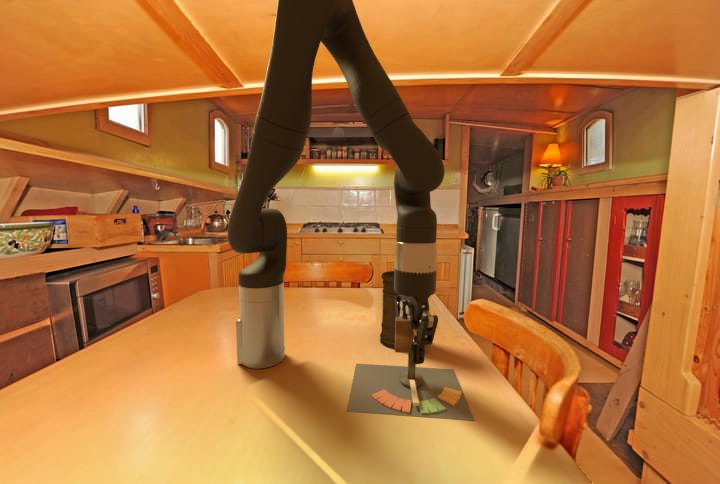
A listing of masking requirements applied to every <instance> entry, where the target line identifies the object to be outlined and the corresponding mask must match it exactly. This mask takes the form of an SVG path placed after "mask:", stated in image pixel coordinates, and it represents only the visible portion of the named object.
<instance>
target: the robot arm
mask: <svg viewBox="0 0 720 484" xmlns="http://www.w3.org/2000/svg"><path fill="white" fill-rule="evenodd" d="M276 5H277V6H276V12H275V13H276V14H275V20H274V28H273V36H272V37H273V38H272V45H271V49H270V55H269V59H268V63H267V68H266V73H265V76H264V77H265V79H264V83H263V88H262V92H261V97H260V100H259V105H258V107H257V112H256V116H255V120H254V124H253V128H252V129H253V130H252V133H251V134H252V136H251V140H250V147H249V151H248V156H247V160H246V165H245V168H244V172H243V176H242V180H241V182H240V184H239V185H240V186H239V188H238V192H237V194H236V198H235V200H234V203H233V207H232V210H231V213H230V216H229V221H228V224H227V225H228V226H227V241H228V243H229V246H230V248H231V249H232V250H233V251H234V252H235V253H237V254H255V253H256V254H257V253H258V256H257V258H256V259H255V261H253V262H251V264H249V265H248V266H246V267H244V268H242V269H240V271H239V273H238V297H239V298H238V299H239V301H238V302H239V304H238V305H239V318H238V319H237V320H235V321H236V322H235V331H236V333H235V334H236V335H235V336H236V337H235V338H236V363H237V364H240V365H242V366H243V367H246V368H249V369H254V370H255V369H266V368H269V367H273V366H276V365H277V364H279V363H281V362H282V361H283V360H284V359H285V355H286V354H285V353H286V352H285V351H286V347H285V345H286V344H285V343H286V342H285V295H284V294H285V291H284V290H285V289H284V286H285V285H284V284H285V283H284V278H285V277H284V276H285V272H286V269H287V253H288V252H287V250H288V227H287V220H286V218H285V216H284V214H283V213H282V212H281V211H280V210H279V209H276V208H265V207H264V204H265V202H266V200H267V198H268V197H269V196H270V195H269V194H270V193H271V191H272V190H273V189H274V188H275V187H276V186H277V185H278V184H279V183H280V182H281V181H282V180H283V179H284V178H285V176H286V175H287V174H288V173H289V172H290V171H291V170H292V169H293V168H294V167H295V166H296V164H297V163H298V162H299V160H300V158H301V157H302V154H303V151H304V148H305V144H306V141H307V138H308V135H309V131H310V128H311V121H312V114H313V72H314V66H315V62H316V58H317V54H318V50H319V48H320V45H321V43H322V45H323V47H325V49H326V50H327V51H328V52H329V55H331V56H332V58H333V59H334V61H335V63H336V64H337V65H338V68H339V69H340V71H341V73H342V75H343V77H344V79H345V80H346V84H347V86H348V89H349V91H350V95H351V97H352V99H353V102H354V104H355V106H356V108H357V111H358V113H359V114H360V116H361V118H362V120H363V121H364V123H365V126H366V127H367V128H368V130H369V132H370V134H371V136H372V137H373V139H374V140H375V142H376V144H377V145H378V146H379V147H380V148H381V149H382V150H384V151H386V152H387V153H389V155H390V156H391V158H392V160H393V161H394V163H395V164H396V168H395V171H394V179H393V186H394V187H393V189H394V190H393V191H394V200H395V207H396V213H397V214H396V216H397V218H396V219H397V220H396V238H395V239H396V242H395V247H394V248H395V251H394V262H393V264H394V265H393V266H394V269H393V271H394V290H395V292H396V293H398V294H400V295H396V296H395V308H396V317H402V318H405V317H406V318H407V319H408V329H409V330H410V331H411V335H412V355H411V361H412V363H413V364H416V365H422V364H424V362H425V355H426V354H425V345H431V346H432V345H433V341H434V337H435V335H436V332H437V326H438V324H439V316H438V315H436V314H431V312H430V304H429V298H430V297H431V296H433V295H435V294H436V291H437V272H438V271H437V270H438V269H437V267H438V251H437V234H438V232H437V230H438V228H437V227H438V218H437V217H438V216H437V214H436V212H435V210H433V209H432V204H431V192H434V191H435V190H436V189H438V188H439V187H440V186H441V184H443V181H444V179H445V174H446V173H445V172H446V171H445V165H444V162H443V159H442V156H441V155H440V153H439V151H438V150H437V148H436V147H435V146H434V144H433V143H432V142H431V140H430V139H429V138H428V137H427V135H426V134H425V133H424V132H423V131H422V129H420V127H418V125H417V124H416V123H415V122H414V119H413V117H412V116H411V114H410V112H409V109H408V108H407V107H406V105H405V103H404V101H403V99H402V97H401V95H400V94H399V92H398V90H397V88H396V87H395V85H394V83H393V82H392V80H391V78H390V77H389V75H388V74H387V72H386V70H385V68H384V67H383V65H382V64H381V62H380V61H379V59H378V56H376V54H375V52H374V50H373V48H372V46H371V44H370V42H369V40H368V37H367V35H366V33H365V31H364V29H363V28H364V27H363V26H362V23H361V21H360V18H359V15H358V12H357V10H356V7H355V4H354V1H353V0H277V4H276ZM419 323H420V325H419V326H414V324H419ZM417 331H418V335H417ZM427 335H428V336H427Z"/></svg>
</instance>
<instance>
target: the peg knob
mask: <svg viewBox="0 0 720 484" xmlns="http://www.w3.org/2000/svg"><path fill="white" fill-rule="evenodd" d="M419 325H420V323H419V324H414V326H419ZM417 335H418V331H417ZM427 336H428V335H427ZM431 352H432V344H431V345H425V355H426V354H427V355H431ZM394 353H401V354H403V353H404V354H407V355H408V356H407V367H408V372H404V373H402V374H401V375H400V382H401V383H402V384H403V385H405V386H408V387H410V388H411V394H412V400H413V405H414V406H419V400H418V395H417V390H416V387H419V386H421V385H422V384H423V377H422V376H421V375H420V374H418V373H415V367H417V366H416V365H417V364H413V363H412V361H411V355H412V335H411V331H410V330H409V329H408V319H407V318H406V317H405V318H402V317H396V321H395V349H394Z"/></svg>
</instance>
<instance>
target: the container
mask: <svg viewBox="0 0 720 484" xmlns="http://www.w3.org/2000/svg"><path fill="white" fill-rule="evenodd" d="M380 278H381V279H382V285H383V286H382V316H381V317H382V319H381V324H380V325H381V333H380V334H379V338H380V339H379V342H380V344H381V345H382V346H383V347H385V348H388V349H391V350H395V321H396V308H395V296H396V295H400V294H398V293H396V292H395V290H394V270H390V271H385V272H382V273H381V277H380Z"/></svg>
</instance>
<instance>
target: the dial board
mask: <svg viewBox="0 0 720 484" xmlns="http://www.w3.org/2000/svg"><path fill="white" fill-rule="evenodd" d="M404 372H408V366H404V365H403V366H402V365H386V364H372V363H370V364H369V363H355V367H354V372H353V378H352V383H351V387H350V393H349V398H348V403H347V406H346V407H347V408H346V413H360V414H361V413H362V414H374V415H388V416H389V415H391V416H399V417H400V416H401V417H402V416H403V417H413V418H414V417H415V418H428V419H442V420H443V419H444V420H445V419H446V420H455V421H456V420H458V421H467V422H470V421H471V422H475V418H474V416H473V413H472V411H471V409H470V406H469V403H468V401H467V399H466V396H465V393H464V392H463V389H462V387H461V383H460V381H459V379H458V376H457V374H456V371H455V369H454V368H441V367H440V368H437V367H433V368H432V367H424V366H423V367H420V366H416V367H415V373H418V374H420V375H421V376H422V377H423V384H422V385H421V386H419V387H416V390H417V395H418V400H419V406H414V405H413V400H412V394H411V388H410V387H408V386H405V385H403V384H402V383H401V382H400V375H401V374H402V373H404Z"/></svg>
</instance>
